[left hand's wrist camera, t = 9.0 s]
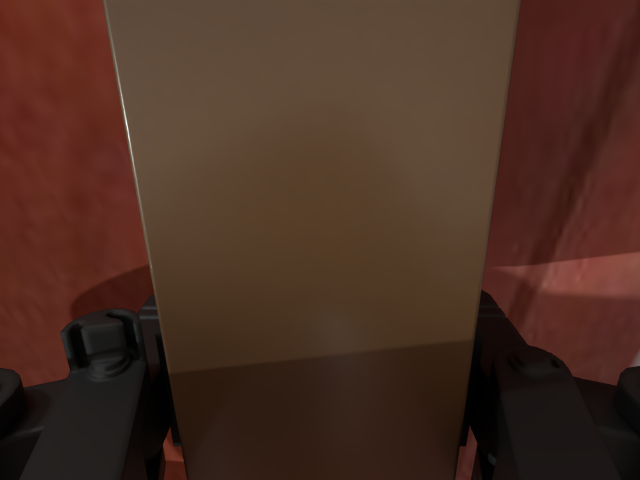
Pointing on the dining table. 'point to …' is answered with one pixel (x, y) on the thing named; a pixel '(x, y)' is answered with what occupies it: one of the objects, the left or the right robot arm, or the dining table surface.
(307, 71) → the bar
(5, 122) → the dining table surface
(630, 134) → the dining table surface
